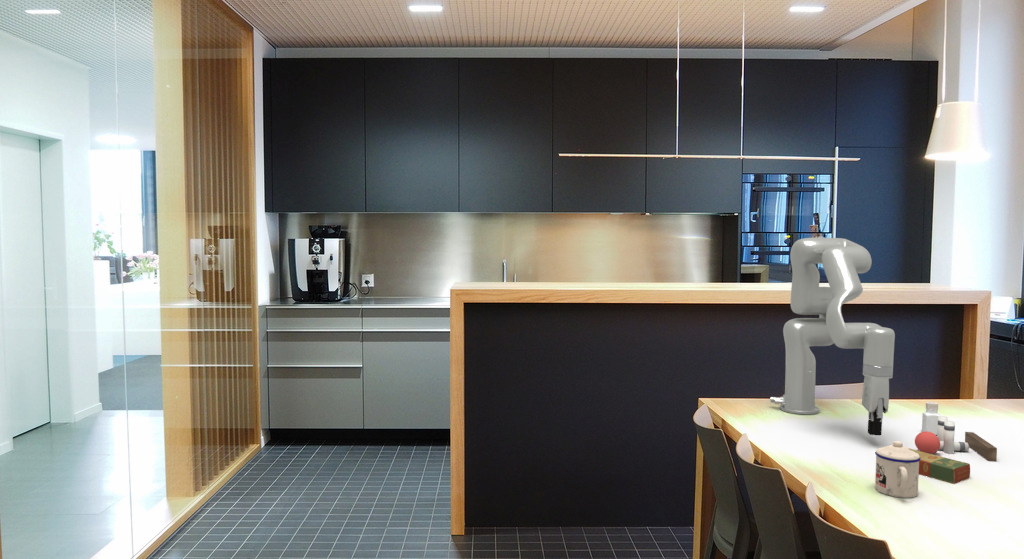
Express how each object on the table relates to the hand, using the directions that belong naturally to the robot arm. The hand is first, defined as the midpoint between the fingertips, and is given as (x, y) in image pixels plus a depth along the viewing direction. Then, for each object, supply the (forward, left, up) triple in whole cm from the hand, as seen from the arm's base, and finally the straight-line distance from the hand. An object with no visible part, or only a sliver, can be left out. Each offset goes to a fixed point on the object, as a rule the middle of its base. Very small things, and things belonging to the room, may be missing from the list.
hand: (874, 434), depth 198 cm
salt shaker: (+19, +16, -3) cm, 25 cm away
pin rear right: (+18, -3, -3) cm, 18 cm away
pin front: (+15, -1, -2) cm, 15 cm away
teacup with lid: (-5, -42, -3) cm, 42 cm away
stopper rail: (+26, -1, -3) cm, 26 cm away
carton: (+7, -23, -4) cm, 24 cm away
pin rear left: (+18, +2, -3) cm, 18 cm away
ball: (+12, -6, 0) cm, 13 cm away
